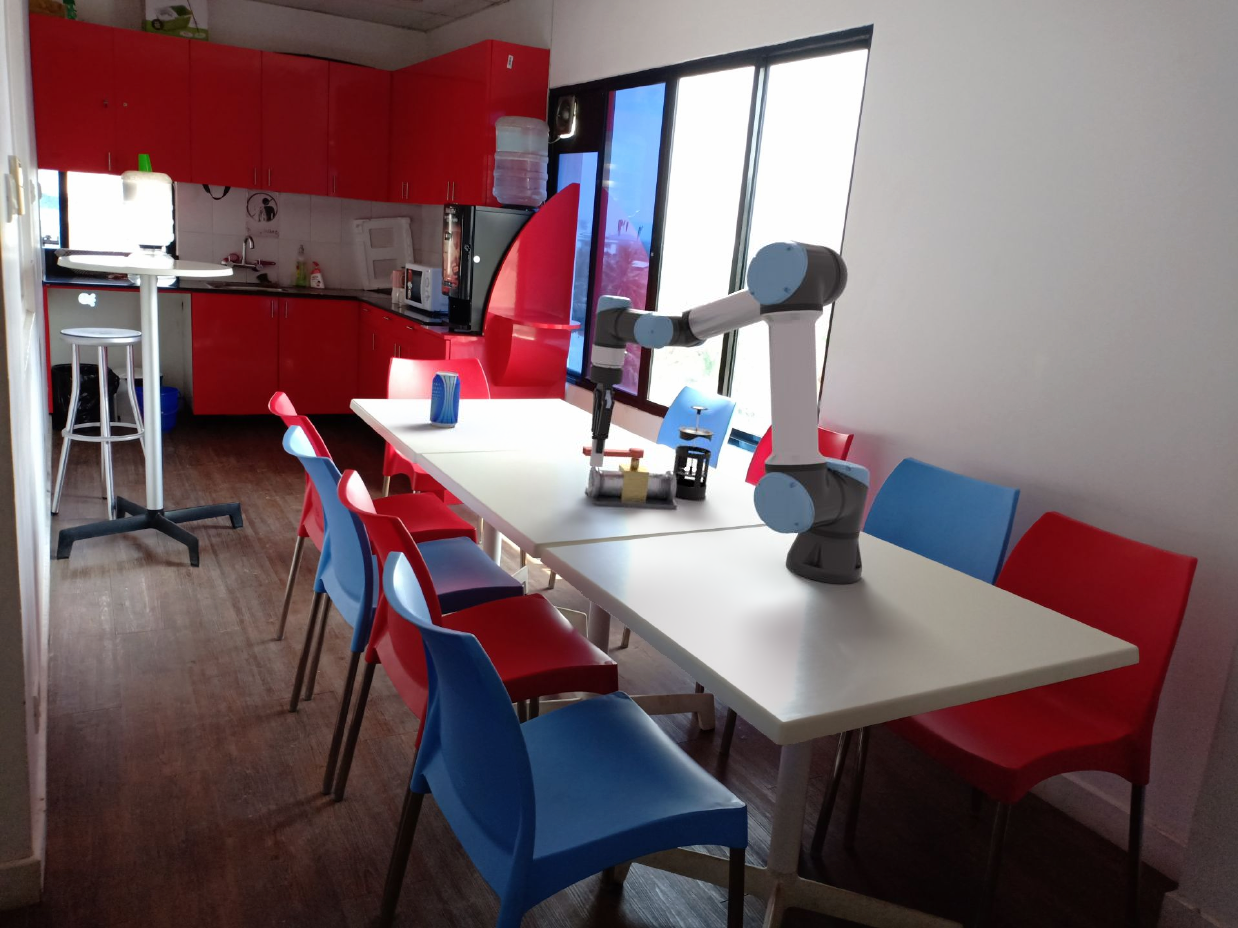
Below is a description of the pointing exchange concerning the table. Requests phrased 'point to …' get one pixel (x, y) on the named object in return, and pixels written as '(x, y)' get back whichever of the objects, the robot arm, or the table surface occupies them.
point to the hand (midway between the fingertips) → (595, 465)
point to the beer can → (445, 399)
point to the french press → (690, 487)
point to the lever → (617, 452)
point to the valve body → (632, 487)
